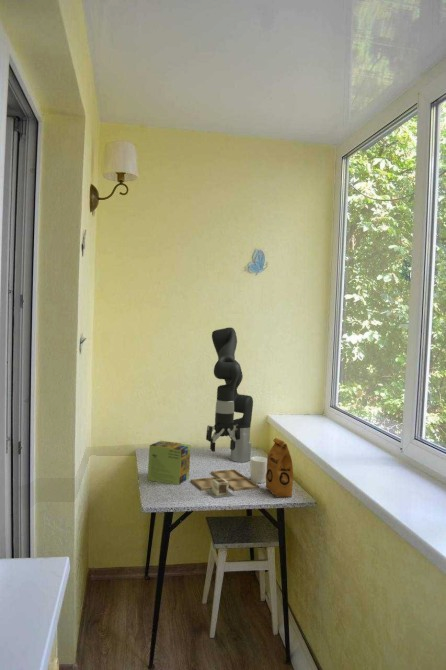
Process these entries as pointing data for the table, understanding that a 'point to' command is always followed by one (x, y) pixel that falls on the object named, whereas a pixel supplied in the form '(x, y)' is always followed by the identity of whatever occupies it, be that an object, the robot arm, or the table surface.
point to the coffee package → (279, 470)
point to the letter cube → (220, 487)
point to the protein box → (169, 462)
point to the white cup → (258, 469)
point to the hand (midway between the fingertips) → (222, 450)
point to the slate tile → (219, 495)
